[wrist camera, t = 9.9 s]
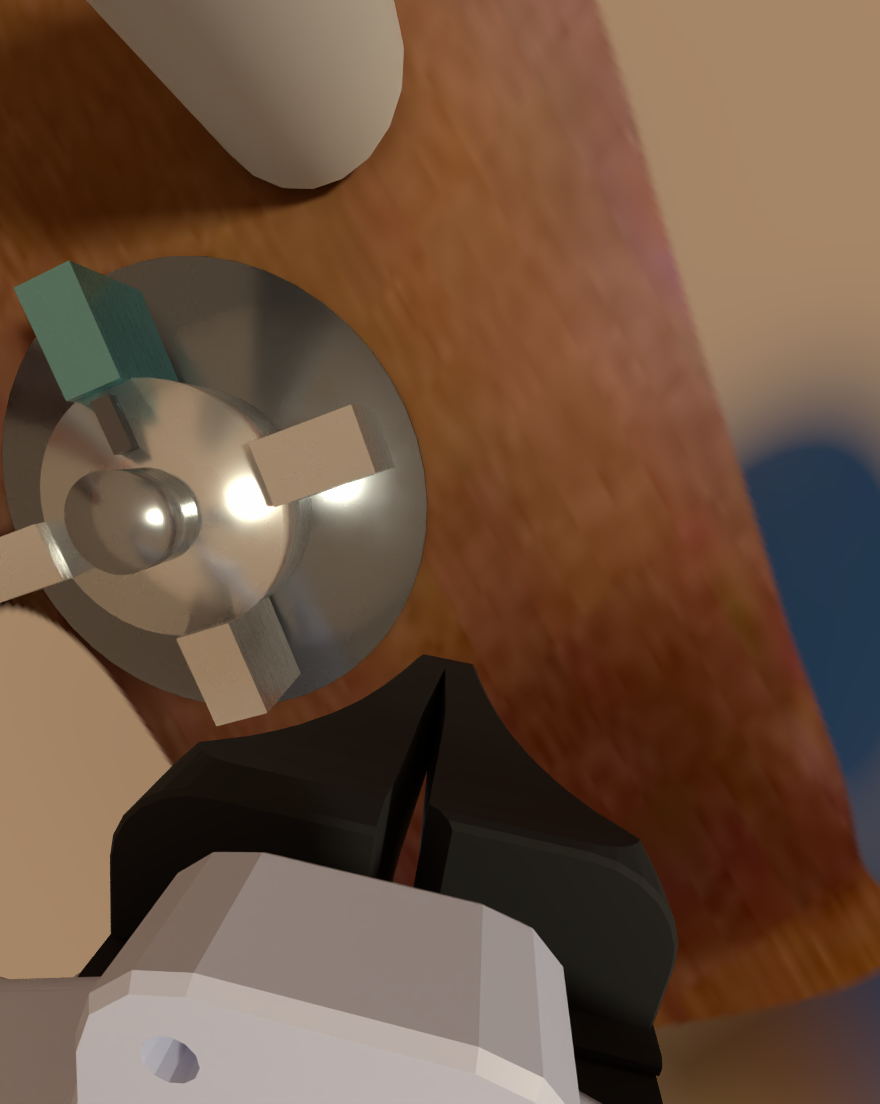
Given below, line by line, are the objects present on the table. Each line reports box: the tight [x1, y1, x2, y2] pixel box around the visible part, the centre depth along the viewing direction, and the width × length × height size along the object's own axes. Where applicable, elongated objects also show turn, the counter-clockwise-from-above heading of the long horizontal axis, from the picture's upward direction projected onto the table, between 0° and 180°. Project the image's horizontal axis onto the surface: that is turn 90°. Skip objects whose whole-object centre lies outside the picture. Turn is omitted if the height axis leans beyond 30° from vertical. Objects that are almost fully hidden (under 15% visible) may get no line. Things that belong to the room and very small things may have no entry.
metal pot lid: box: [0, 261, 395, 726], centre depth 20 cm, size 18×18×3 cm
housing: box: [2, 256, 427, 702], centre depth 19 cm, size 20×20×6 cm
